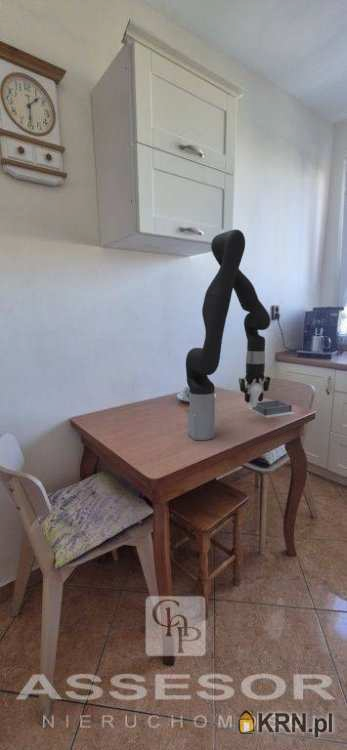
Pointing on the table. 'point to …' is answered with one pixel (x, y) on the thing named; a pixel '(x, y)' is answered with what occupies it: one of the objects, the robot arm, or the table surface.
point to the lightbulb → (255, 394)
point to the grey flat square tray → (273, 409)
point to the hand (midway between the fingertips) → (253, 401)
